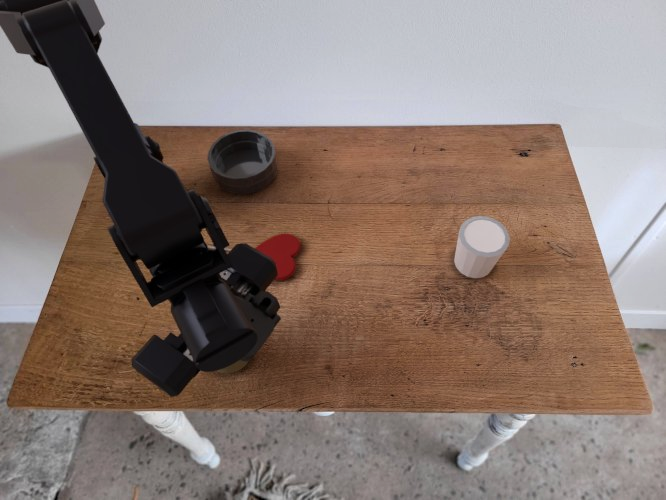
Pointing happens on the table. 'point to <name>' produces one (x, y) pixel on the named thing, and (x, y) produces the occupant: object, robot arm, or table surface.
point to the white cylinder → (480, 246)
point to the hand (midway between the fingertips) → (225, 342)
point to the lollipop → (280, 253)
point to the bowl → (243, 161)
